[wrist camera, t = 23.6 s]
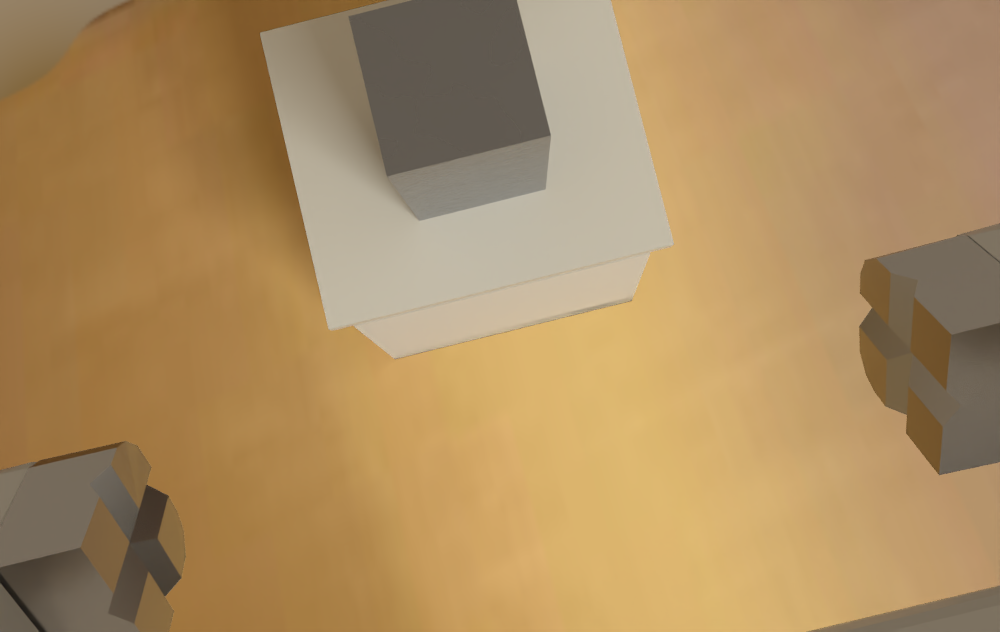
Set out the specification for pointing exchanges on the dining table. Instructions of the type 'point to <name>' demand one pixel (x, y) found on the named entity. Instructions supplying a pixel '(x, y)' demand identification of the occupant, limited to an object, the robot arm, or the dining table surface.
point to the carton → (507, 308)
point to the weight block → (453, 102)
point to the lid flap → (479, 230)
